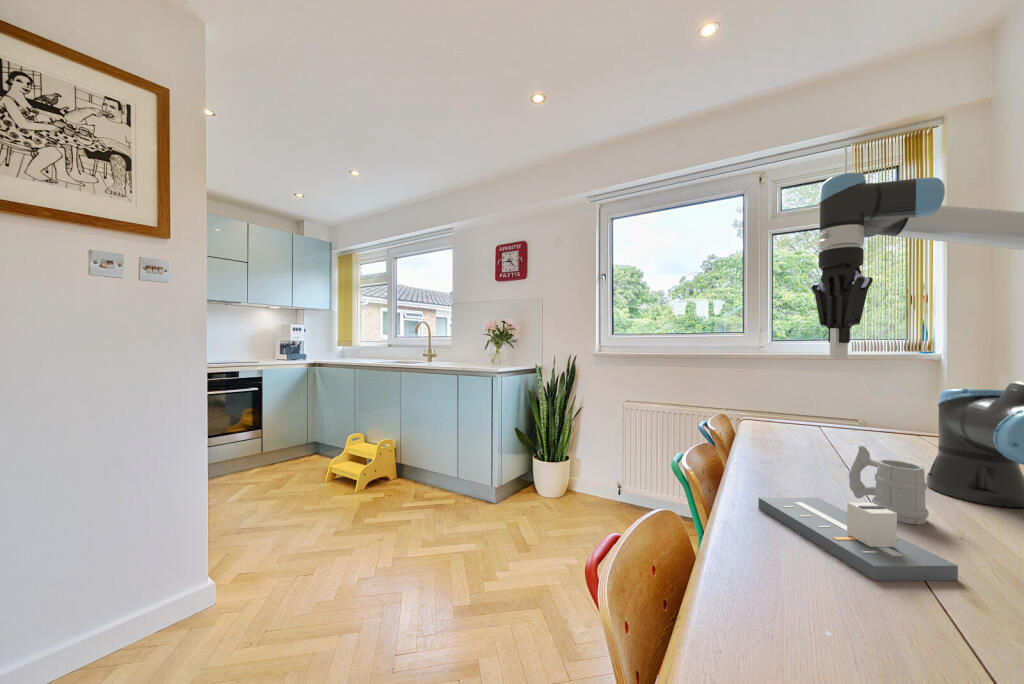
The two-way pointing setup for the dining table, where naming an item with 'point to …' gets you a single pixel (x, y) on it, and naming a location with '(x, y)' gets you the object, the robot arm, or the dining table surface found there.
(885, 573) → the console
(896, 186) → the robot arm
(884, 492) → the mug
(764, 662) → the dining table surface
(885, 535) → the fader tab
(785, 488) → the dining table surface
